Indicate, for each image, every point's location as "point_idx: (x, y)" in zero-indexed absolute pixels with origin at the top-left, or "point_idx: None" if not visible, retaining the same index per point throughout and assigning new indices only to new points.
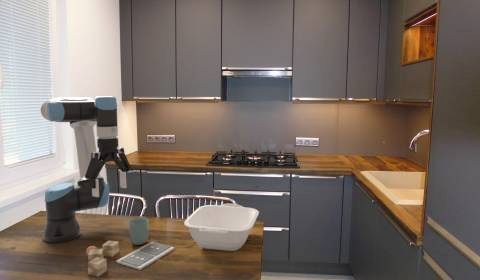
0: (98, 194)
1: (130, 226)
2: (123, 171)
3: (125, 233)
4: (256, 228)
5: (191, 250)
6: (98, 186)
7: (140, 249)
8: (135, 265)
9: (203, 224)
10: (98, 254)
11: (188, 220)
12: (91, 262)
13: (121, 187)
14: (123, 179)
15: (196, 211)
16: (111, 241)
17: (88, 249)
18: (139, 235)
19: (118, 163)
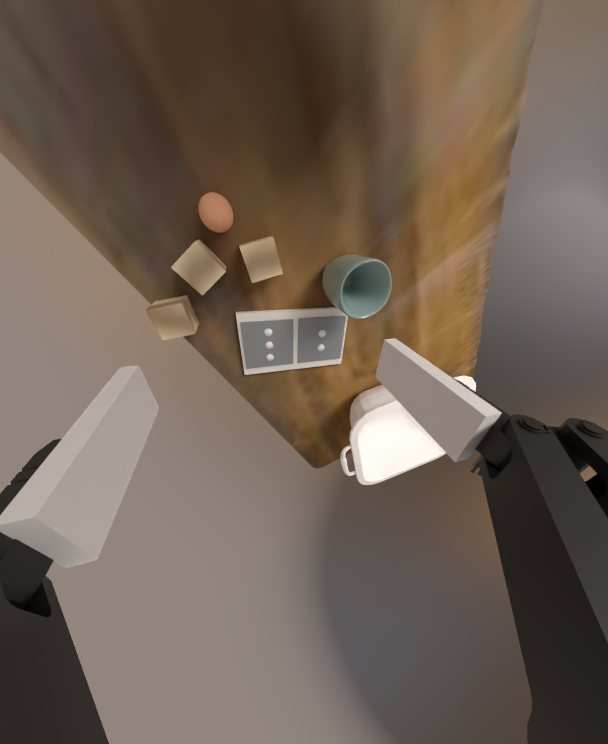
0: (149, 420)
1: (337, 282)
2: (484, 440)
3: (380, 176)
4: None
5: (345, 385)
6: (129, 476)
7: (303, 319)
8: (245, 363)
9: None
10: (197, 289)
11: (378, 415)
12: (155, 317)
13: (382, 350)
14: (412, 404)
15: None
16: (272, 252)
17: (202, 212)
18: (332, 303)
19: (527, 611)
